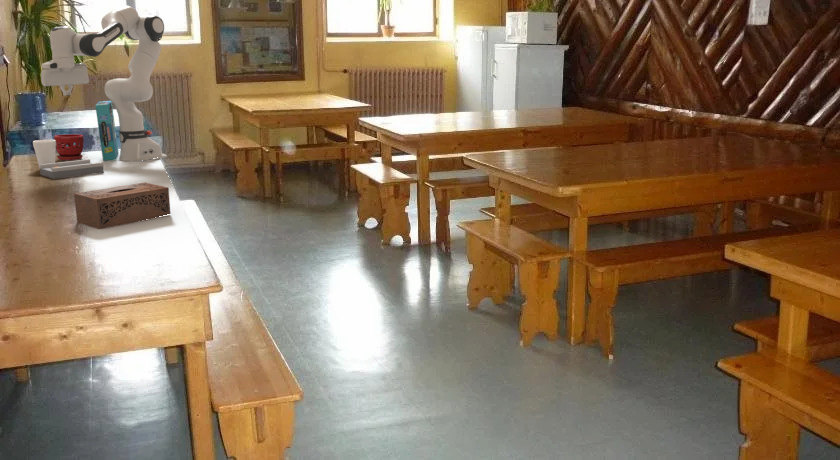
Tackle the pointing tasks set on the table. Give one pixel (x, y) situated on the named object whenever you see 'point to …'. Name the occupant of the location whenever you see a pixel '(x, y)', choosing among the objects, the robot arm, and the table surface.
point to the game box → (107, 130)
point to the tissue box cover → (121, 205)
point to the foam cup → (45, 151)
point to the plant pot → (69, 146)
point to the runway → (70, 169)
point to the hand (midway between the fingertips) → (67, 95)
